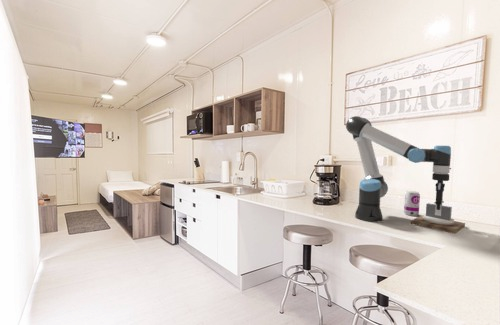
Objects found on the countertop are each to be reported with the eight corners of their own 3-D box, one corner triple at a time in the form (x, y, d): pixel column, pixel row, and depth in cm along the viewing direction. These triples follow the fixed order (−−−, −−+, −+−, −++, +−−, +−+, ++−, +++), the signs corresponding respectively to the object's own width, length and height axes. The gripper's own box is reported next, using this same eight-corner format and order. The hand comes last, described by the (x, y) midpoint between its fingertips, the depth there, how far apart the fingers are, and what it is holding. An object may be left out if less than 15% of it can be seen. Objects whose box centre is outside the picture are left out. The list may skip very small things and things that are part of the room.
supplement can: (421, 216, 160) (423, 193, 159) (408, 216, 160) (410, 192, 159) (413, 213, 168) (414, 190, 167) (401, 212, 168) (402, 190, 168)
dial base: (410, 223, 143) (411, 220, 143) (423, 218, 156) (423, 214, 155) (455, 233, 128) (455, 229, 127) (464, 226, 140) (465, 222, 140)
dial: (419, 220, 142) (420, 204, 142) (427, 216, 151) (427, 201, 151) (450, 226, 132) (451, 209, 131) (456, 221, 141) (457, 206, 140)
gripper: (448, 174, 131) (445, 218, 132) (450, 172, 144) (447, 213, 145) (431, 173, 136) (428, 216, 137) (434, 171, 149) (431, 210, 150)
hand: (438, 214), depth 141 cm, fingers closed on dial, 3 cm apart
